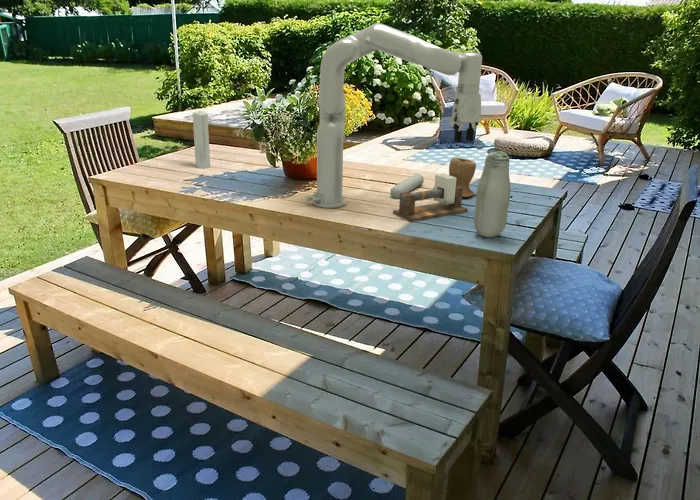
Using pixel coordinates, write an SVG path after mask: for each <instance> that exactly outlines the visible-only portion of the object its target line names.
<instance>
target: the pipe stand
mask: <svg viewBox="0 0 700 500" xmlns="http://www.w3.org/2000/svg"><path fill="white" fill-rule="evenodd" d="M462 193H463V188H462V187H460V186H456V189H455V201H454V203H452V204H443V203H441V202H436V203H429V204H424V205H418V206H416V202H418V201H419V202H420V201H426V200H430V199H434V198H438V197H444V189H443V188H442V189H436V190H433V189H430V190H424V191H417V192H402V193H400V198H399V206H398V209H395V210H392V214H393V215H395V216H397V217H399V218H401V219H403V220H406V221H408V222H410V223H415V222H419V221H425V220H431V219H436V218H440V217H441V218H442V217H446V216H447V217H448V216H452V215H457V214H464V213H467V212H468V208H467V207H464V206H462V202H463V201H462V200H463V197H462Z"/></svg>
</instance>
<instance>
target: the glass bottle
mask: <svg viewBox="0 0 700 500" xmlns="http://www.w3.org/2000/svg"><path fill="white" fill-rule="evenodd" d="M475 195H476V196H475V197H476V198H475V207H474V208H475V209H474V219H473V220H474V222H473V224H474V228H475V231H476V232H477V234H479V235H480V236H481V237H486V238H496V237H499V235H501V234H502V233H503V232H504V229H505V228H506V225H507V220H508V213H509V212H508V211H509V205H510V197H511V181H510V157H509V155H508V154H507V152H505V151H502V150H494V151H491V152H489V153H488V154H487V156H486V157H485V159H484V167H483V170H482V173H481V176H480V179H479V181H478V184H477V187H476V194H475Z"/></svg>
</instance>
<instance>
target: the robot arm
mask: <svg viewBox="0 0 700 500" xmlns="http://www.w3.org/2000/svg"><path fill="white" fill-rule="evenodd" d="M375 51H380V52H382V53H385V54H387V55H390V56H393V57H395V58H398V59H401V60H404V61H406V62H408V63H412V64H416V65H419V66H421V67H425V68H427V69H430V70H432V71H435V72H438V73H440V74H442V75H443V74H444V75H445V76H454V75H456V74H457V73H458V77H457V79H458V80H457V86H456V87H455V90H456V91H457V92H456V93H455V96H454V99H453V105H452V113H451V115H452V116H451V117H450V118H449V120H448V123H449V124H450V126H451V127H452V129H453V131H454V137H453V138H454V140H453V141H454V142H457V143H462V141H463V140H462V139H463V131H462V129H463V125H464V124H467V128H466V132H465V140H466V141H469V142H474V134H475V132H474V131H475V130H476V128H477V126H479V125H478V124H480V123H481V122H482V95H481V93H480V83H481V75H482V64H483V56H482V54H481V53H479V52H471V51H470V52H469V51H468V52H456V51H451V50H447V49H445V48H442V47H439V46H437V45H435V44H432V43H430V42H427V41H425V40H423V39H422V38H420V37H417V36H415V35H413V34H410V33H408V32H405V31H402V30H399V29H396V28H394V27H391V26H388V25H387V24H384V23H380V22H377V23H376V22H375V23H373V24H371V25H369V26H367V27H366V28H363V29H361V30H359V31H356V32H355V33H352V34H350V35H348V36H345V37H343V38H341V39H339V40H337V41H335V42H334V43H332V44H331V45H330V46H328V48H327V49H326V50H325V52H324V54H323V55H322V57H321V58H322V59H321V63H320V68H319V69H320V70H319V92H318V93H319V94H318V107H319V124H318V126H317V130H316V163H317V164H316V191H314V193H313V194H312V195H305V197H304V199H305V201H306V202H309V201H311V202H312V204H313V205H314V206H316V207H320V208H324V209H325V208H326V209H335V208H336V209H337V208H341V207H343V206H346V205H347V200H346V199H345V198H344V197H343V180H344V179H343V178H344V177H343V173H344V170H343V169H344V168H343V167H344V136H345V135H344V134H345V124H346V95H345V92H344V85H345V84H344V83H345V70H346V67H347V66H348V65H349V64H351V63H355V61H357V59H359V58H363V57H364V56H366V55H369V54H371V53H374V52H375Z"/></svg>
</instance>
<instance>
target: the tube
mask: <svg viewBox="0 0 700 500" xmlns="http://www.w3.org/2000/svg"><path fill="white" fill-rule="evenodd" d="M424 179H425V177H424V176H423V175H422V174H421V173H414V174H413V175H412V176H409V177H408V178H406V179H404V180H402V181H401V182H399V183H397V184H395V185H394V186H392V187H391V189H390V193H389V194H390V196H391V197H392V198H394V199H400V193H402V192H409V193H411V192H412V191H413V190H415V189H416V188H418V187H420V186H422V184H423V183H424V182H425V181H424Z"/></svg>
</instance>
